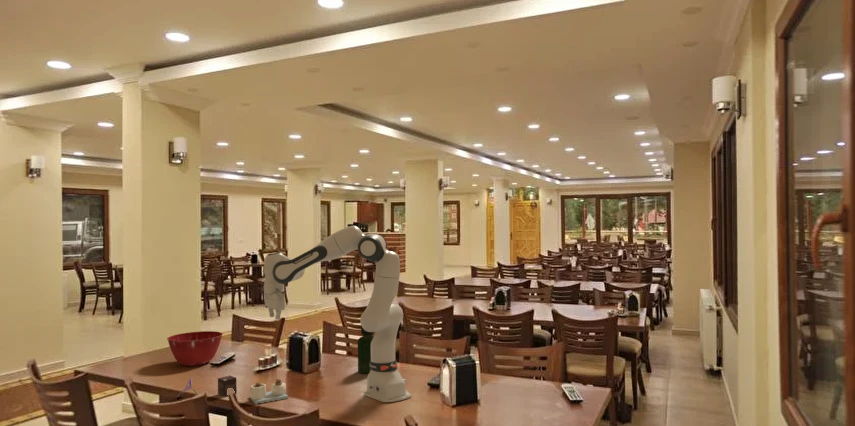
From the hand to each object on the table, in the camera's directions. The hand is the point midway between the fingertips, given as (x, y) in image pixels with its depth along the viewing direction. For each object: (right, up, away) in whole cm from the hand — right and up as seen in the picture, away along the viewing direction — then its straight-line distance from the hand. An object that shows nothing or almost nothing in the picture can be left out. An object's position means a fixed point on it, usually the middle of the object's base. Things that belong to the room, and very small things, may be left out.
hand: (274, 318), depth 250 cm
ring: (-3, -32, -13) cm, 35 cm away
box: (-21, -34, -4) cm, 40 cm away
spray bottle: (+40, -34, +30) cm, 60 cm away
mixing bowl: (-59, -36, +53) cm, 87 cm away
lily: (-38, -34, -5) cm, 51 cm away
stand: (0, -33, -11) cm, 35 cm away
